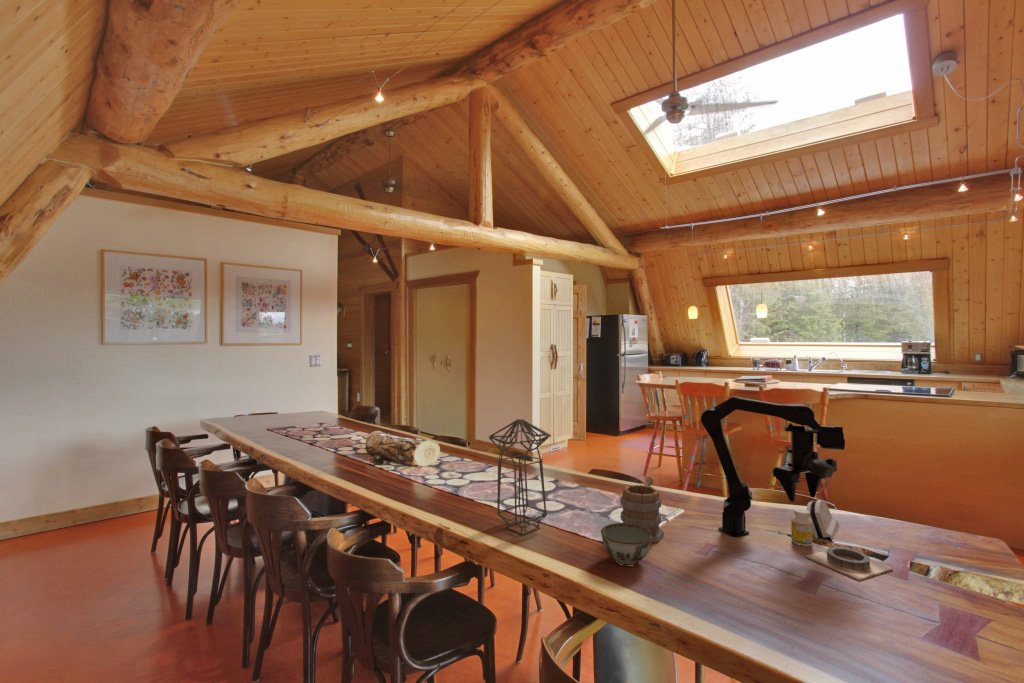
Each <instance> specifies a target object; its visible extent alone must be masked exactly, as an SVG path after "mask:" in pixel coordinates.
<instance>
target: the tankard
mask: <svg viewBox="0 0 1024 683" xmlns="http://www.w3.org/2000/svg"><path fill="white" fill-rule="evenodd" d="M653 482H654V479H653V478H652V477H650V476H648V477H647V478H646V480H645V483H644V485H643V484H633V485H627V486H625V487H624V488H623V489H622V495H621V497H620V505H621V506H622V511H621V512H620V520H621V521H622V523H629V524H634V525H638V526H641V527H644V528H646V529H647V530H649V531H650V532H651V534H652V538H651V542H654V543H659V542H660V541H661V539H662V538H664V536H665V532H664V530H663V529H661V527H660V524H661V523H662V515H661V514H660V509H661V507H662V499H661V498H660V491H659V490H658V489H656V488H655V487H653V486H651V485H653V484H654V483H653Z"/></svg>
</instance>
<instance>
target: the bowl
mask: <svg viewBox="0 0 1024 683" xmlns="http://www.w3.org/2000/svg"><path fill="white" fill-rule="evenodd" d="M600 535H601V538H602V542H603V546H604V549H605V551H606V552H607V554H608V555H609V556H610V557H611V558H612V559H614V561H615V560H616V561H617V562H618V563H620V564H623V565H634V566H636V565H635V564H638V563H639V562H640V561H641V560H643V559H644V558H645V557H646V556H647V555H648V553H649V551H650V549H651V544H652V543H651V538H652V534H651V532H650V531H649V530H647V529H646V528H644V527H641V526H638V525H634V524H629V523H623V522H616V523H610V524H606V525H604V526H603V527H602V528H601V530H600ZM616 561H615V562H616ZM617 562H616V563H617ZM618 563H617V564H618ZM620 564H619V565H620Z"/></svg>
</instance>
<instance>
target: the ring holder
mask: <svg viewBox="0 0 1024 683" xmlns="http://www.w3.org/2000/svg"><path fill="white" fill-rule="evenodd" d="M806 557H807V558H806ZM805 558H806V559H808V558H809V559H808V560H810V559H811V560H810V561H812V560H814V561H816V562H815V563H817V562H818V563H817V564H819V563H820V564H819V565H821V564H822V566H823V567H825V568H828V567H829V568H828V569H830V568H831V570H833V571H835V572H837V571H838V572H837V573H839V572H840V573H839V574H842V575H844V576H846V575H847V576H846V577H848V578H851V579H853V578H854V580H855V579H856V580H855V581H858V582H860V581H863V580H866V578H867V579H869V577H870V578H872V576H873V577H875V576H879V575H882V574H881V573H883V574H885V572H886V573H888V572H892V571H893V570H894V569H893V568H892V567H891V566H888V565H885V564H882V563H880V562H877V561H875V560H872V559H870V558H871V557H869V556H868V555H867V554H866V553H864V552H861V551H858V550H856V549H853V548H848V547H842V546H831V547H828V548H827V549H825V550H823V551H819V552H815V553H811V554H808V555H805ZM814 561H813V562H814ZM891 570H892V571H891ZM878 574H879V575H878ZM862 579H863V580H862Z"/></svg>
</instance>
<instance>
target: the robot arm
mask: <svg viewBox="0 0 1024 683" xmlns="http://www.w3.org/2000/svg"><path fill="white" fill-rule="evenodd" d="M736 410H738V411H743V412H749V413H754V414H758V415H759V414H760V415H764V416H765V415H766V416H770V417H771V416H772V417H776V418H780V419H781V420H785V421H787V422H789V423H788V424H787V425H785V426H784V427H783V429H784V431H785V432H789V433H790V434H791V436H790V437H791V438H790V439H791V440H790V443H791V444H790V446H791V447H790V448H787V453H789V454H790V456H791V457H790V458H791V461H790V462H788V463H787V466H785V465H780V466H775V467H774V468H772V477H774V478H775V479H776V480H778V482H779V483H780V485H781V486H782V488H783V490H784V492H785V494H786V496H787V498H788V500H789V501H790V502H792V503H794V502H795V500H796V489H797V485H798V484H799V483H800V482H801V480H799V479H800V478H801V475H803V474H804V476H805V477H804V478H805V480H806V485H807V489H808V493H809V496H810V497H811V498H815V497H816V495H817V493H818V489H819V487H820V484H821V483H822V480H824V479H826V478H832V477H833V474H834V472H835V473H836V472H837V471H838V468H837V467H838V466H837V460H836V459H834V458H827V459H824V458H820V457H819V453H818V451H816V450H815V449H814V445H818V446H819V448H820V449H825V450H837V451H844V450H845V448H846V447H845V446H846V439H845V434H844V430H843V426H841V425H822V424H821V423H820V422H819V421H817V420H816V419H815V413H814V411H813V410H812V409H811V407H810V406H808V404H804V403H791V402H790V403H777V402H776V403H775V402H771V401H764V400H758V399H751V398H747V397H746V398H745V397H740V396H737V395H731V396H729V397H728V399H726V400H723V401H722V402H721V403H719V404H717V405H715V406H714V407H711V406H710V407H707V408H705V409H704V410H703V412H702V413H701V416H700V421H701V424H702V425H703V427H704V429H705V431H706V432H707V434H708V436H709V437H710V438H711V440H712V443H713V446H714V449H715V451H716V455H717V456H718V459H719V463H720V465H721V468H722V471H723V474H724V476H725V479H726V482H727V489H728V495H729V496H728V497H727V498H725V499H724V500H723V506H722V507H723V508H722V510H723V511H722V513H721V514H722V516H721V518H722V520H721V522H722V523H721V524H722V526H720V527H718V530H719V531H721V532H723V533H725V534H727V535H729V536H731V537H740V536H745V535H749V534H750V531H748V530H746V520H747V519H746V511H748V510H749V509H750V508H751V506H752V500H753V492H752V491H751V489H750V487H749V481H748V480H747V481H743V480H742V479H741V477H740V474H739V472H738V470H737V467H736V465H735V461H734V458H733V456H732V453H731V450H730V447H729V445H728V442H727V440H726V436H725V432H724V425H723V419H725V418H726V417H728V416H729V415H730V414H732V413H733V412H735V411H736ZM793 424H794V425H793ZM806 426H807V427H808V428H806ZM809 428H810V429H809ZM814 435H815V444H814Z"/></svg>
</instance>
